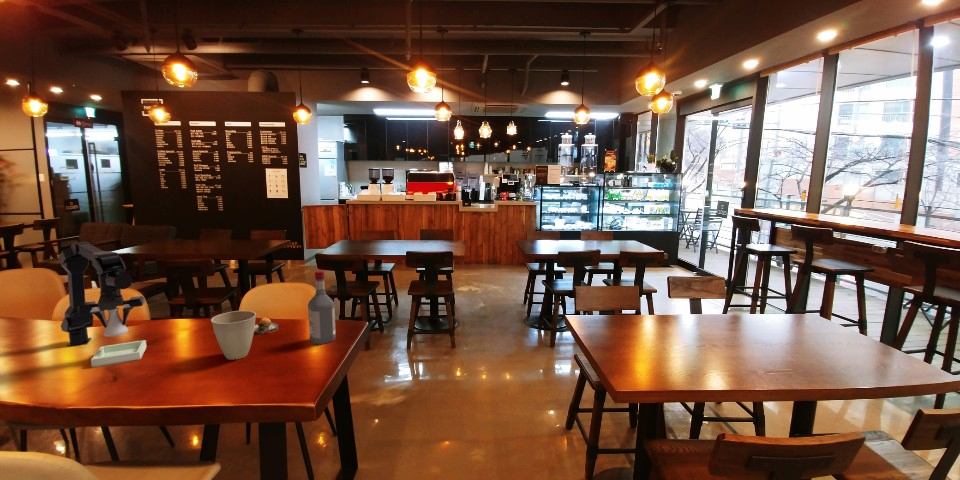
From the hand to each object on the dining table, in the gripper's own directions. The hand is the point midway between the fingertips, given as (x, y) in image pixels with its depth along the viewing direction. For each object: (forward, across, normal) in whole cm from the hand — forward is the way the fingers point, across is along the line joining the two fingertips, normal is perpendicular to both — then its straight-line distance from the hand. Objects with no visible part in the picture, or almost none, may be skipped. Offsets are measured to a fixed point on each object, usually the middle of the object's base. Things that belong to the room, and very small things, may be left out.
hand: (115, 326), depth 164 cm
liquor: (+13, +72, -20) cm, 75 cm away
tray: (+12, 0, 0) cm, 12 cm away
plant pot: (+13, +40, -21) cm, 47 cm away
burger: (+13, +50, +6) cm, 52 cm away
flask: (+3, 0, 0) cm, 3 cm away
